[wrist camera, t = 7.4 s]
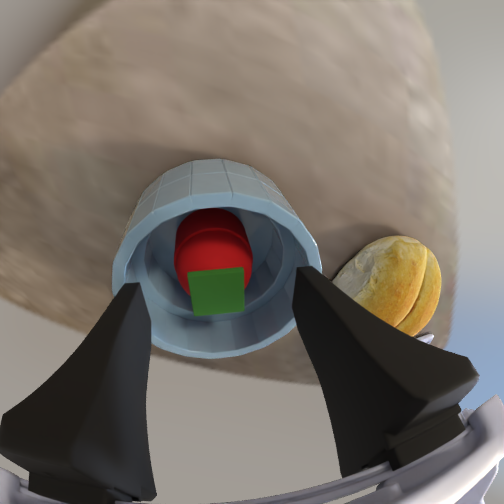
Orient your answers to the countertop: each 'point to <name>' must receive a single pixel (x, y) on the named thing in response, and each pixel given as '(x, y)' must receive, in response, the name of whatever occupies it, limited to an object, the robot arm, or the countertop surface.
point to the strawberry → (213, 261)
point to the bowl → (261, 242)
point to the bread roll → (394, 282)
